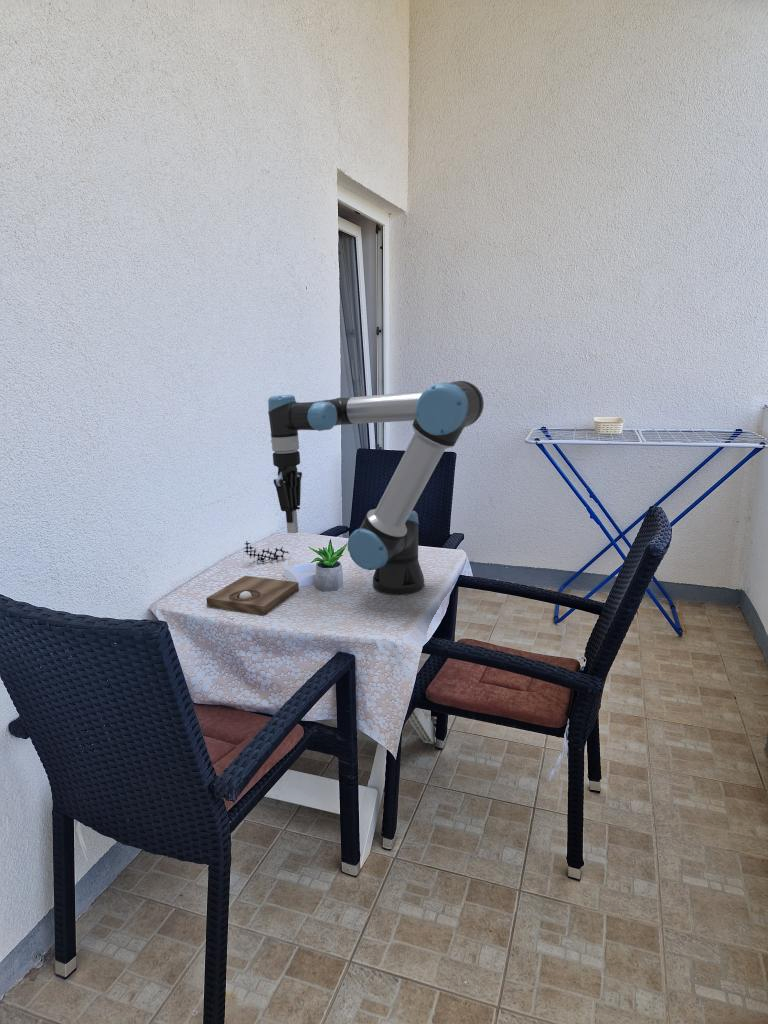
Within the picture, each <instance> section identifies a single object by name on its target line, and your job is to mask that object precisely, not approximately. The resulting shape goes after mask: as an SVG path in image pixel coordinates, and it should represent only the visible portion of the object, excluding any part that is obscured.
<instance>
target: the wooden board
mask: <svg viewBox="0 0 768 1024" xmlns="http://www.w3.org/2000/svg"><path fill="white" fill-rule="evenodd" d="M299 586H300V585H299V581H298V582H297V581H292V580H291V581H290V580H283V579H275V578H267V577H259V576H254V575H253V576H251V575H243V576H242V577H240V578H238V579H237V580H235V581H233V582H232V583H229V584H228V585H227V586H226V585H225V587H222V588H221V589H219V590H218V591H216V592H214V593H212V594H211V595H209V596H208V597H206V607H207V606H209V607H208V608H213V607H215V608H214V609H219V608H222V609H221V610H226V609H227V611H232V610H234V612H239V611H240V612H241V613H248V614H254V615H258V616H259V615H260V616H266V615H267V614H268V613H269V612H271V611H273V610H274V609H275V608H277V607H278V606H279V605H281V604H282V603H283V602H285V601H287V600H288V599H289V598H291V597H292V596H293V595H294V594H297V592H299V588H300V587H299ZM244 591H248V592H250V593H251V595H252V597H250V598H247V599H240V598H239V596H240V594H241V593H242V592H244Z"/></svg>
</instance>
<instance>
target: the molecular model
mask: <svg viewBox="0 0 768 1024" xmlns="http://www.w3.org/2000/svg"><path fill="white" fill-rule="evenodd" d="M243 545H246V546H245V547H243V553H246V556H249V559H252V558H253V559H255V558H256V557H257V558H256V561H255V562H256V563H258V561H259V562H262V564H265V561H266V558H267V559H268V561H270V562H271V563H273V561H274V560H277V561H280V559H279V558H281V559H285V556H284V554H285V553H286V554H287V555H290V554H291V553H290V552H289V550H287V551H285V549H283V548H284V546H281V548H280V549H279V548H278V547H275V548H274V550H275V551H274V552H273V550H270V548H267V550H265V548H262V549H261V550H260V551H261V552H262V554H260V552H259V551H258V552H257V547H255V546H252V543H251V542H248V540H245V543H243ZM253 549H254V550H253ZM277 552H281V553H282V554H281V555H279V554H277ZM256 553H257V554H256ZM252 556H253V557H252Z"/></svg>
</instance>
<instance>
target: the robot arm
mask: <svg viewBox="0 0 768 1024" xmlns="http://www.w3.org/2000/svg"><path fill="white" fill-rule="evenodd" d="M267 404H268V405H267V406H268V407H267V408H268V411H267V413H268V419H269V425H270V428H269V429H270V437H271V439H270V443H271V449H272V451H273V454H272V461H273V462H272V463H273V466H274V467H277V478H275V479H273V484H274V486H275V489H276V493H277V498H278V502H279V507H280V510H281V511H282V512H284V513H285V518H286V521H285V522H286V531H287V534H297V533H299V525H298V513H297V512H298V511H297V510H300V509H301V493H302V491H301V490H302V487H301V486H302V485H301V484H302V477H303V473H302V472H301V471H298V467H297V466H298V465H300V464H301V455H300V452H299V449H300V443H299V442H300V441H299V431H318V432H322V431H330V430H332V429H333V428H334V427H336V426H345V425H346V426H347V425H355V424H356V425H359V424H373V423H374V424H375V423H378V424H379V423H392V422H393V423H394V422H397V423H398V422H412V425H411V426H412V429H413V431H414V433H413V435H412V438H411V440H410V441H409V444H408V445H407V447H406V449H405V451H404V454H402V457H401V459H400V461H399V464H398V465H397V467H396V468H395V471H394V473H393V475H392V477H391V479H390V480H389V483H388V484H387V486H386V488H385V490H384V493H383V495H382V496H381V498H380V500H379V502H378V504H377V506H376V508H374V509H370V510H368V511H367V513H366V516H365V517H364V519H363V521H362V522H361V525H360V527H359V528H357V529H355V530H354V531H352V533H351V534H350V535H349V537H348V540H347V551H348V553H349V556H350V558H351V560H352V561H353V562H354V564H356V565H357V566H358V567H359V568H362V569H363V570H365V571H366V570H367V571H374V574H373V577H372V587H373V590H376V591H377V592H380V593H382V594H387V595H399V596H400V595H410V594H413V593H414V594H415V593H417V592H419V591H421V590H423V589H424V587H425V576H424V573H423V570H422V568H421V565H420V562H419V561H420V560H419V523H420V522H419V516H418V513H417V511H415V510H414V508H415V506H416V504H417V502H418V500H419V498H420V496H421V495H422V493H423V491H424V489H425V487H426V485H427V483H428V482H429V480H430V478H431V476H432V474H433V472H434V471H435V470H436V467H437V465H438V463H439V462H440V459H442V456H443V454H444V452H445V451H446V450H447V449H449V448H453V447H454V446H455V445H456V443H457V441H458V439H460V436H461V434H462V432H463V430H464V429H465V428H467V427H469V426H471V425H473V424H474V423H476V422H477V421H478V419H479V418H480V417H481V416H482V413H483V411H484V405H485V403H484V396H483V394H482V392H481V390H480V389H479V388H478V387H477V386H476V385H475V384H473V383H472V382H469V381H466V380H465V381H464V380H457V381H452V382H446V381H445V382H439V383H436V384H434V385H431V386H430V387H428V388H426V389H425V390H424V391H413V392H412V391H411V392H400V393H390V394H389V393H387V394H377V395H364V396H353V397H345V396H344V397H337V398H333V399H324V400H318V401H317V400H316V401H309V402H308V401H306V402H299V401H298V402H297V401H296V397H295V396H294V395H293V394H280V395H279V394H278V395H272V396H269V397H268V400H267Z"/></svg>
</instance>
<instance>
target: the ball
mask: <svg viewBox="0 0 768 1024" xmlns="http://www.w3.org/2000/svg"><path fill="white" fill-rule="evenodd" d="M250 597H252V595H251V593H250V592H248V591H244V592H242V593H241V594H240V596H239V598H240V599H247V598H250Z"/></svg>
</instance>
